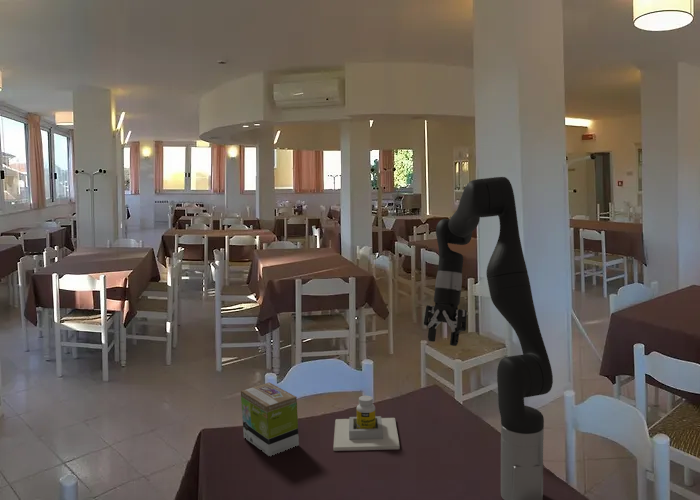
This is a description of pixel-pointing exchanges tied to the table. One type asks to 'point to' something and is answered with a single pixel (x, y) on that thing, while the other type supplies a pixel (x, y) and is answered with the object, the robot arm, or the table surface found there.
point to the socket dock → (365, 435)
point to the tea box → (270, 418)
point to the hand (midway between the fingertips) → (442, 343)
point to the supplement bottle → (365, 413)
